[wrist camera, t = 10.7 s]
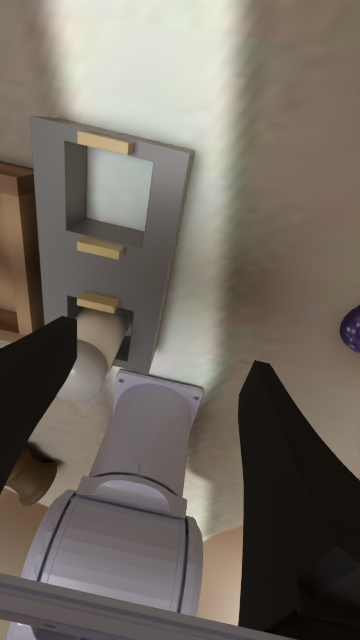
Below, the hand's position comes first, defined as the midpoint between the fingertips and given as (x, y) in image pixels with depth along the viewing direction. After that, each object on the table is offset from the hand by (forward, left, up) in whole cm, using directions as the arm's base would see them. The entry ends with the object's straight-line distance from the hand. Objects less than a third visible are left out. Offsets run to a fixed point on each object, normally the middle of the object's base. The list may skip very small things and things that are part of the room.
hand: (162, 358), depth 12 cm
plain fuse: (-5, +5, -10) cm, 13 cm away
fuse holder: (-1, +5, -10) cm, 12 cm away
